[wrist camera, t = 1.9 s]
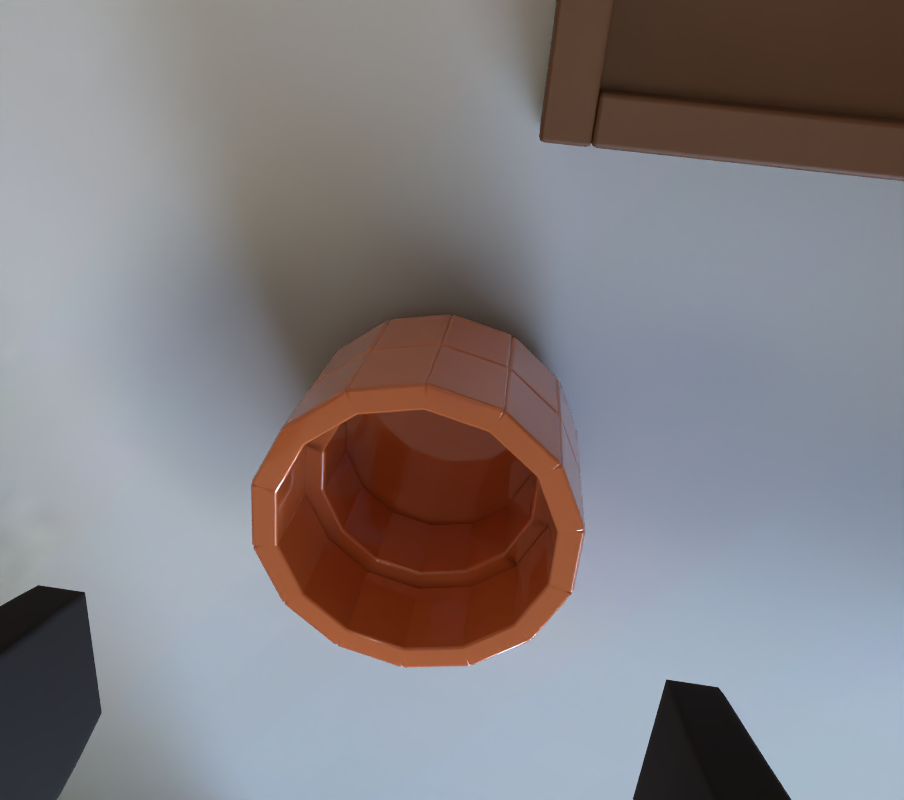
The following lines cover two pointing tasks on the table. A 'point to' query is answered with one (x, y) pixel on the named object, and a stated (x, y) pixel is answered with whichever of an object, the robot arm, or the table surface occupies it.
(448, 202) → the table surface
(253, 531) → the flower pot
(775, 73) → the tray
